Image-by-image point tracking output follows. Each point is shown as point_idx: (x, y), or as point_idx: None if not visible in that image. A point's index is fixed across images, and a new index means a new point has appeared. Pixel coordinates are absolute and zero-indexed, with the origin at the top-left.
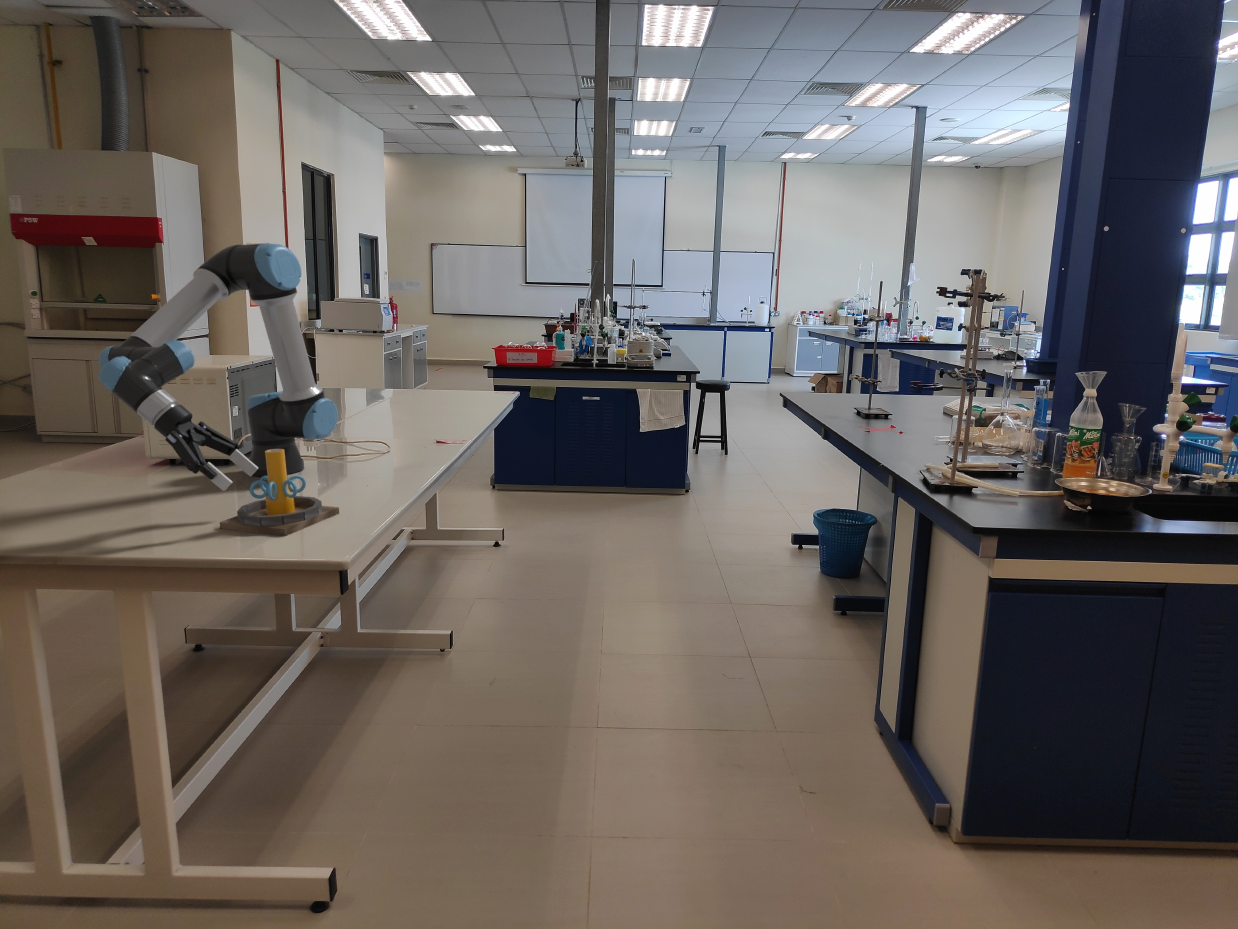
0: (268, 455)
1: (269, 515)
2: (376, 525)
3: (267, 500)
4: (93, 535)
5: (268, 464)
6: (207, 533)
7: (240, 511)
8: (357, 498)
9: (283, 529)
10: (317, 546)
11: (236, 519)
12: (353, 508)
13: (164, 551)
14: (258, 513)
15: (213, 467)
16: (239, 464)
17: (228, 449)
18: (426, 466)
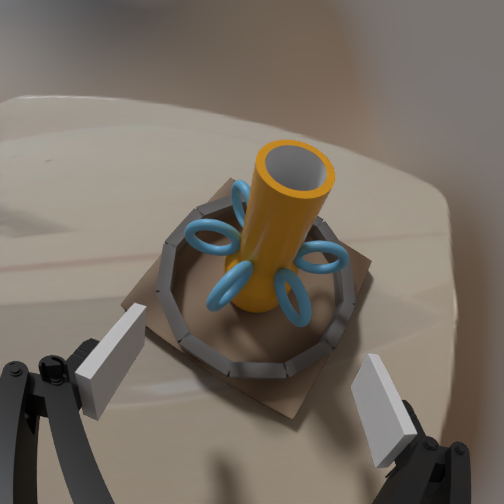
0: (327, 195)
1: (343, 286)
2: (319, 145)
3: (288, 290)
4: None
5: (312, 222)
6: (320, 434)
7: (291, 367)
8: (127, 165)
9: (370, 263)
10: (411, 217)
11: (277, 383)
12: (200, 167)
13: None
14: (231, 339)
15: (405, 411)
16: (119, 374)
17: (36, 415)
18: (10, 113)
